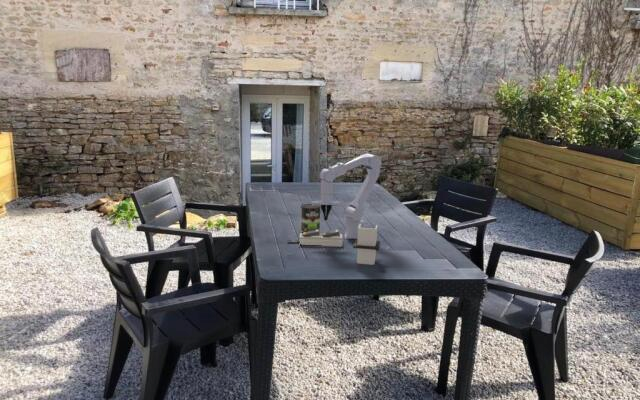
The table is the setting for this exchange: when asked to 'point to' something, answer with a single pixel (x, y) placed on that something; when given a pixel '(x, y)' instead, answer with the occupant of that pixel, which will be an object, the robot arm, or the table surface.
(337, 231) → the rocker
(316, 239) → the rocker switch box
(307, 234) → the rocker
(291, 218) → the table surface
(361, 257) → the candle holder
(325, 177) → the robot arm
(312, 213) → the coffee can
